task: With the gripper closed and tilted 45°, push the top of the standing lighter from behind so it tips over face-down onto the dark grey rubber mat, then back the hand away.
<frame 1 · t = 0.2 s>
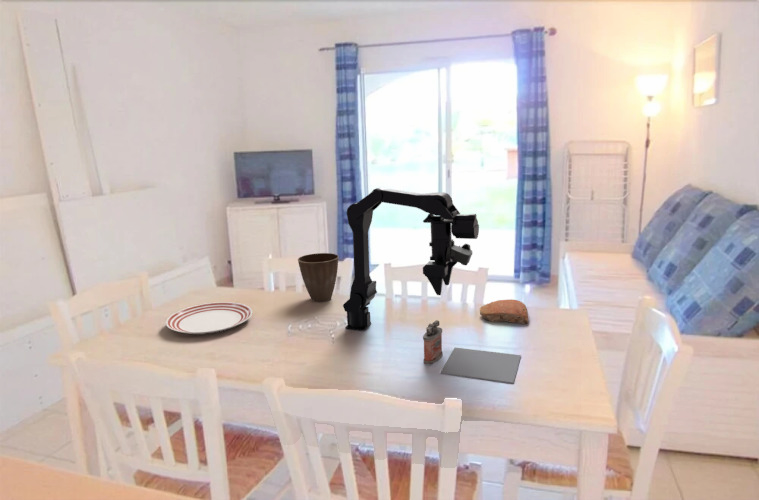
hand: (443, 289, 148), 15 cm above the table, tool pointing down, fingers open, 9 cm apart
lighter: (433, 359, 137), on the table
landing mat: (481, 364, 132), on the table
brown rounded lump: (503, 317, 166), on the table
plant pot: (321, 299, 191), on the table
dinner plate: (211, 324, 170), on the table
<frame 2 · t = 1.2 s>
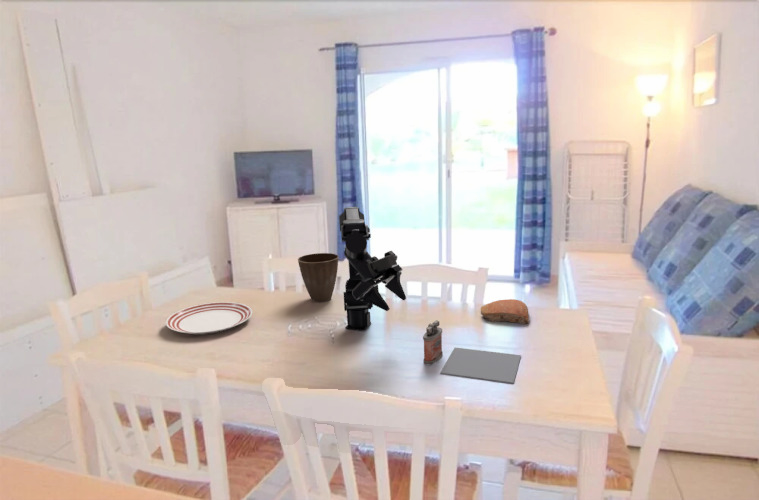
hand: (397, 304, 140), 13 cm above the table, tool tilted 45°, fingers open, 9 cm apart
nothing on the table moved.
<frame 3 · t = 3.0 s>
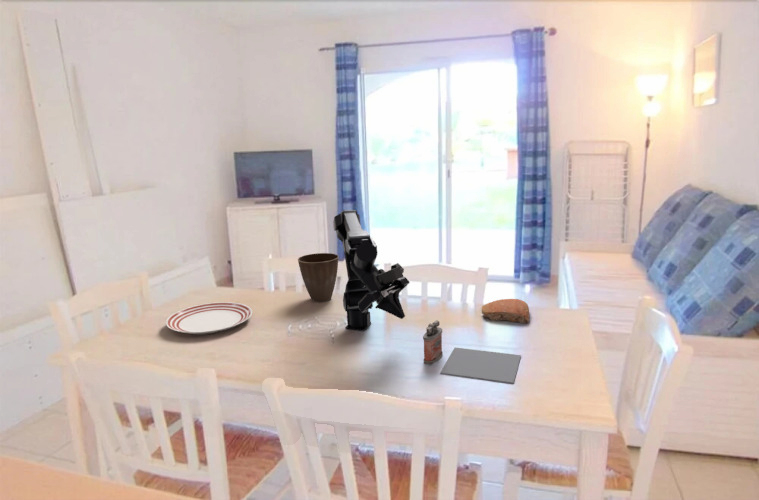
hand: (403, 317, 139), 10 cm above the table, tool tilted 45°, fingers closed
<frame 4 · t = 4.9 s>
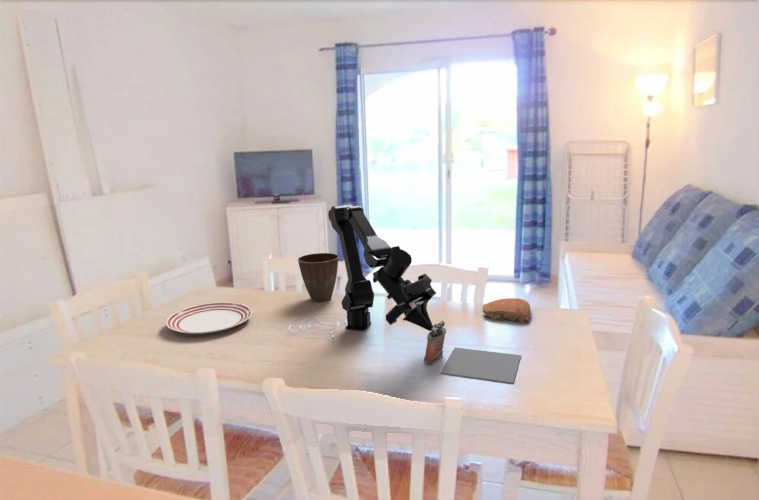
hand: (432, 329, 135), 8 cm above the table, tool tilted 45°, fingers closed, pressing on lighter
lighter: (433, 358, 137), on the table, touching gripper
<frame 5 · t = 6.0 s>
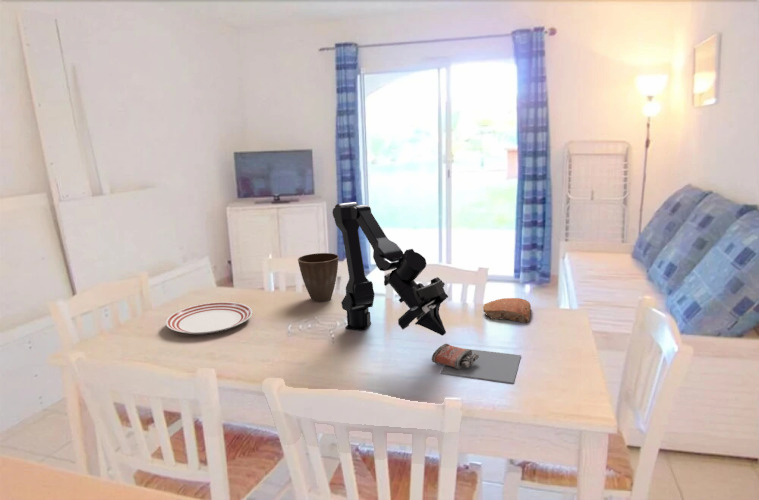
hand: (444, 334, 133), 8 cm above the table, tool tilted 45°, fingers closed
lighter: (439, 352, 135), point 2 cm above the table, touching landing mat
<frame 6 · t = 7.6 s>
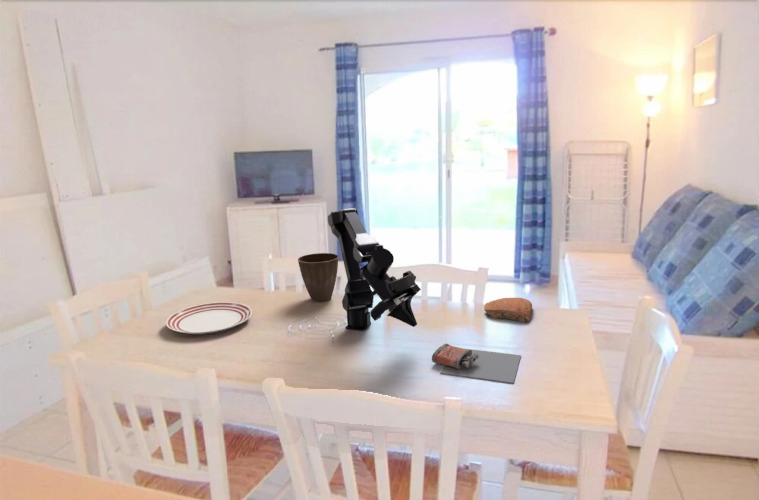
hand: (415, 325, 138), 8 cm above the table, tool tilted 45°, fingers closed
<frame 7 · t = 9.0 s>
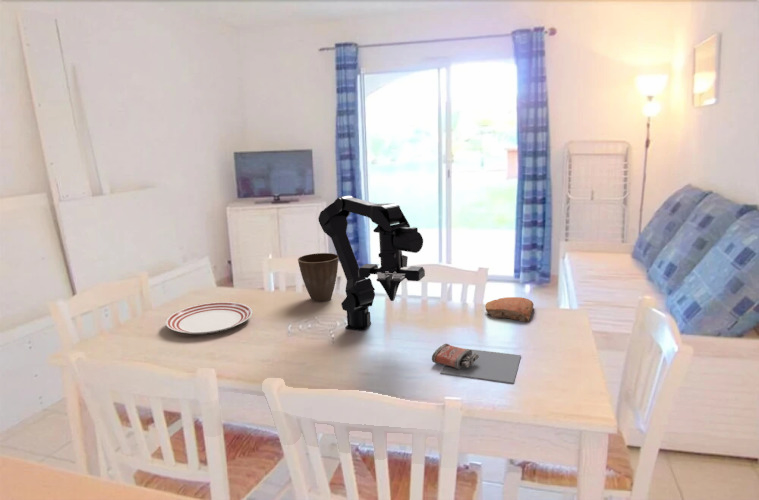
hand: (392, 300, 148), 12 cm above the table, tool pointing down, fingers closed
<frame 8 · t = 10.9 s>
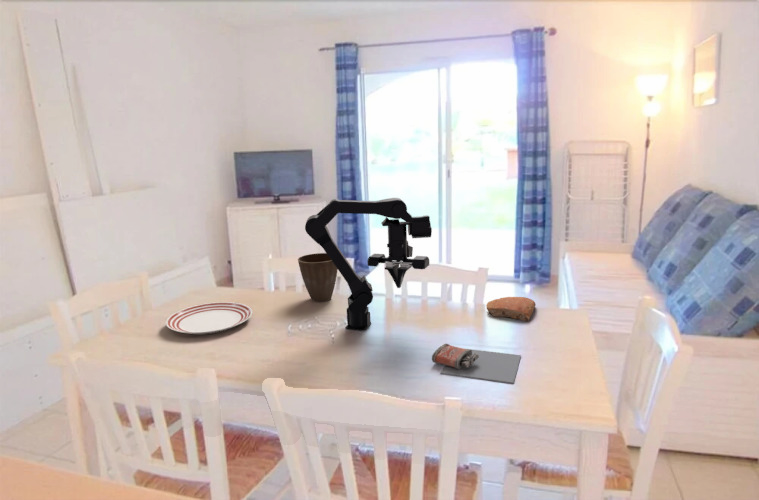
hand: (399, 287, 160), 12 cm above the table, tool pointing down, fingers closed
at the end: lighter tilted 90°; lighter touching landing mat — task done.
